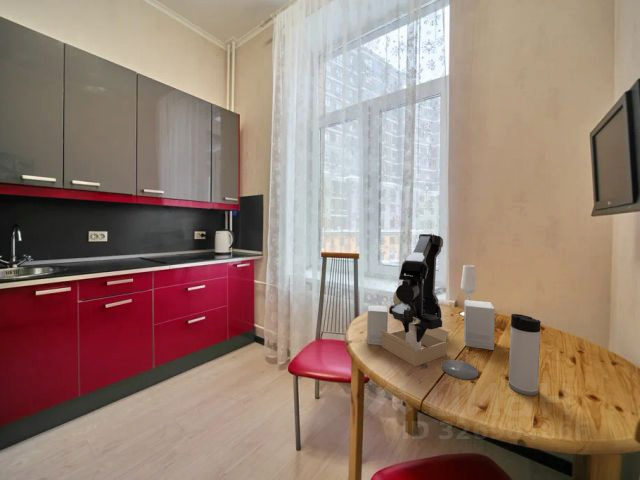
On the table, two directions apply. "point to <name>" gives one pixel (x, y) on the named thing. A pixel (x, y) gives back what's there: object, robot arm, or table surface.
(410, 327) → the salt shaker
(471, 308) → the supplement box
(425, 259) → the robot arm
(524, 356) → the travel mug
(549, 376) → the table surface
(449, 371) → the coaster
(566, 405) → the table surface
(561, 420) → the table surface
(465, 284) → the champagne flute
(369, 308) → the supplement box
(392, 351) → the carton
